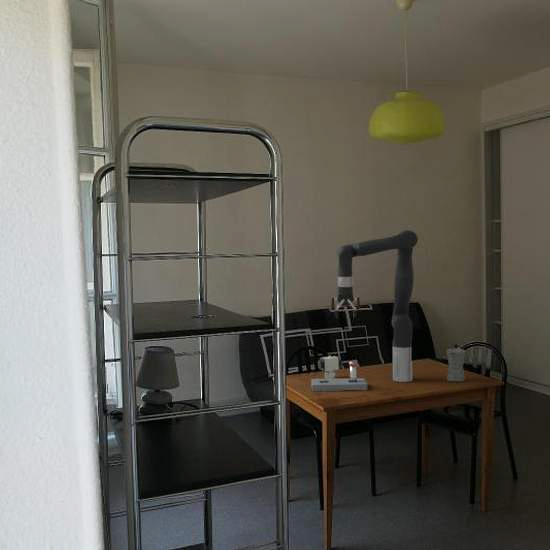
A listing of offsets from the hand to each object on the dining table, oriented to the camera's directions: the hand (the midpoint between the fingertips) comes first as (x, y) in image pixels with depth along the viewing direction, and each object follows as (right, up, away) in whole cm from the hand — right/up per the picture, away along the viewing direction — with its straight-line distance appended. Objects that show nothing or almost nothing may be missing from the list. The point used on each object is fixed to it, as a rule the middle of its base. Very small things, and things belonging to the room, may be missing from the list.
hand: (345, 317), depth 312 cm
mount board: (-5, -33, -11) cm, 35 cm away
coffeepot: (+56, -31, 0) cm, 64 cm away
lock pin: (+2, -33, -11) cm, 35 cm away
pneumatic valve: (-7, -32, +8) cm, 34 cm away
